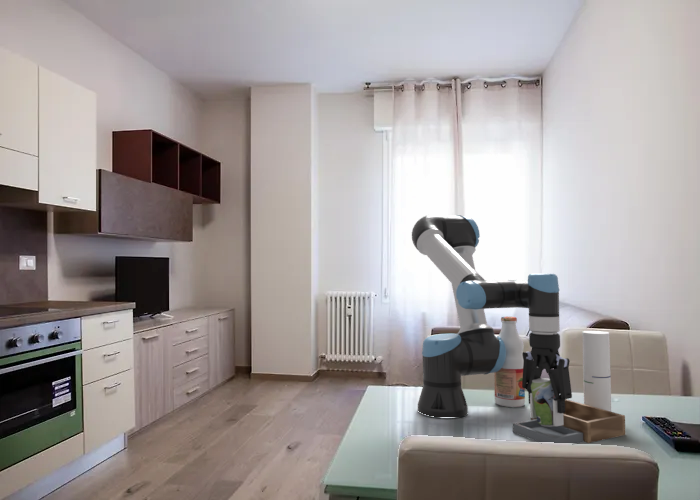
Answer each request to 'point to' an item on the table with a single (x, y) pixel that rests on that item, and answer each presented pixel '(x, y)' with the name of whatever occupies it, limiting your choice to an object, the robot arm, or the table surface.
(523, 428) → the tray
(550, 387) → the beverage can
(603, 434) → the crate
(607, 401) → the cylindrical container
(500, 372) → the fruit juice
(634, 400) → the table surface
